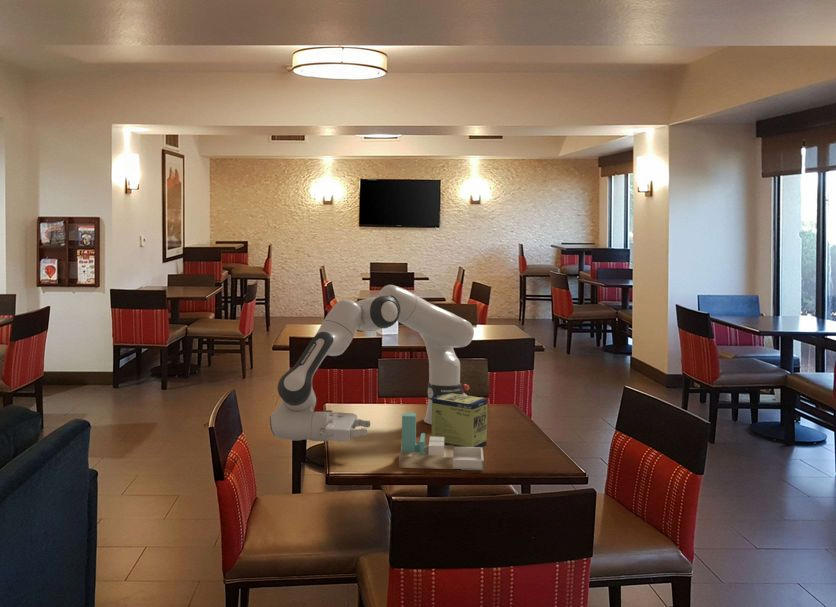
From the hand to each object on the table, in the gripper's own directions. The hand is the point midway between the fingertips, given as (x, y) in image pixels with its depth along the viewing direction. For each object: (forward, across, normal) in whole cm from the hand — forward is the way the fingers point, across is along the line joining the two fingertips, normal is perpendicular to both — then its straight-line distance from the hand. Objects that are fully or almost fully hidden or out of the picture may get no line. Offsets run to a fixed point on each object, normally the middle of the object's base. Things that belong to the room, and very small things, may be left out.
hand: (368, 427), depth 255 cm
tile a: (+21, +3, +6) cm, 22 cm away
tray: (+30, 0, +10) cm, 32 cm away
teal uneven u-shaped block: (+14, 0, +7) cm, 15 cm away
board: (+18, 0, +10) cm, 20 cm away
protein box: (+28, +20, +10) cm, 36 cm away
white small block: (+21, -3, +6) cm, 22 cm away
